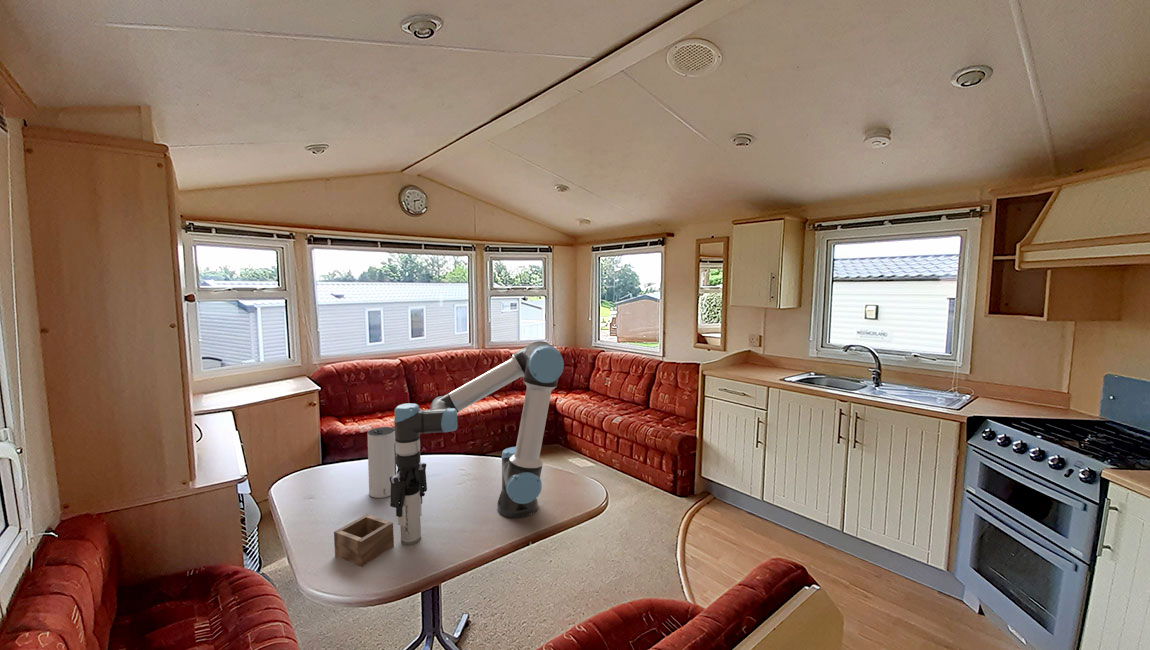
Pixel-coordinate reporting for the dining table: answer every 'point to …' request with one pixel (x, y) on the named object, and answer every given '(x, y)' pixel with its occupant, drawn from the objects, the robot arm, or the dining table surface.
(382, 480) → the speaker
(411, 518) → the travel mug
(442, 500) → the dining table surface
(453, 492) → the dining table surface
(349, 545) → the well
